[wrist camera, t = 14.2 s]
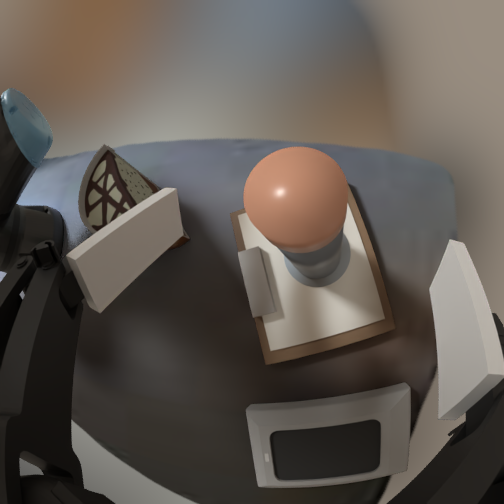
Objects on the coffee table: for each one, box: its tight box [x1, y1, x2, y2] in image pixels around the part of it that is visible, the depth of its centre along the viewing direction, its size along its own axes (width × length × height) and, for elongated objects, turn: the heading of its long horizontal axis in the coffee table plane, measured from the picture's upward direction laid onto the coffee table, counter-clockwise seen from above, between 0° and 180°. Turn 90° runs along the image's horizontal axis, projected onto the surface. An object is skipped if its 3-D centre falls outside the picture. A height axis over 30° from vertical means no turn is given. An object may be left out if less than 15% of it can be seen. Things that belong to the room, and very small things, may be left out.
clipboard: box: [230, 180, 396, 365], centre depth 24 cm, size 12×15×2 cm
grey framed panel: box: [246, 382, 411, 488], centre depth 19 cm, size 10×4×15 cm
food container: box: [78, 144, 190, 250], centre depth 26 cm, size 12×6×10 cm, turn 36°
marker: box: [244, 147, 348, 279], centre depth 17 cm, size 5×5×13 cm
